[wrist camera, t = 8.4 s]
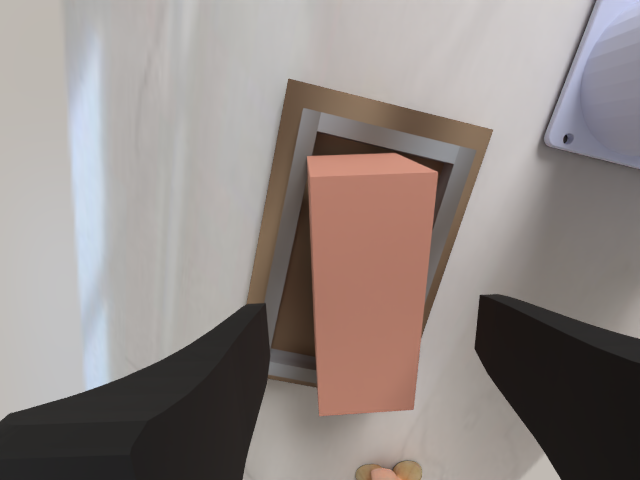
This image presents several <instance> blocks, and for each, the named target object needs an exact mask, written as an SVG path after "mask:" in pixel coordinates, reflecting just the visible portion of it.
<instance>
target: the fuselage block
mask: <svg viewBox="0 0 640 480" xmlns="http://www.w3.org/2000/svg"><path fill="white" fill-rule="evenodd" d="M307 171H308V195H309V219H310V244H311V268H312V292H313V316H314V340H315V356H316V372H317V389H318V405H319V416H327V415H342V414H357V413H371V412H386V411H401V410H413V409H414V400H415V390H416V381H417V371H418V361H419V352H420V342H421V333H422V323H423V314H424V304H425V294H426V285H427V275H428V266H429V256H430V246H431V237H432V227H433V218H434V208H435V198H436V189H437V179H438V172H437V171H434V170H432V169H430V168H428V167H426V166H423V165H421V164H419V163H417V162H414V161H412V160H410V159H408V158H405V157H403V156H401V155H399V154H396V153H380V154H352V155H324V156H307Z"/></svg>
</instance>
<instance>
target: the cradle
mask: <svg viewBox="0 0 640 480" xmlns="http://www.w3.org/2000/svg"><path fill="white" fill-rule="evenodd" d="M492 132H493V130H492V129H488V128H484V127H480V126H476V125H472V124H468V123H464V122H460V121H456V120H452V119H448V118H444V117H440V116H436V115H432V114H428V113H424V112H420V111H416V110H412V109H408V108H404V107H400V106H396V105H392V104H388V103H384V102H380V101H376V100H372V99H368V98H364V97H360V96H356V95H352V94H348V93H344V92H340V91H336V90H332V89H328V88H324V87H320V86H316V85H312V84H308V83H304V82H300V81H296V80H292V79H288V83H287V89H286V94H285V100H284V105H283V110H282V116H281V121H280V126H279V132H278V137H277V143H276V148H275V153H274V159H273V164H272V169H271V175H270V180H269V186H268V191H267V196H266V202H265V207H264V213H263V218H262V223H261V229H260V234H259V239H258V245H257V250H256V256H255V261H254V266H253V272H252V277H251V282H250V288H249V293H248V299H247V304H255V303H266V311H267V322H268V333H269V345H270V356H271V357H270V364H269V372H268V379H274V380H279V381H285V382H290V383H295V384H301V385H306V386H311V387H317V372H316V356H315V340H314V316H313V292H312V268H311V244H310V219H309V195H308V171H307V156H324V155H352V154H380V153H396V154H399V155H401V156H403V157H405V158H408V159H410V160H412V161H414V162H417V163H419V164H421V165H423V166H426V167H428V168H430V169H432V170H434V171H437V172H438V179H437V189H436V198H435V208H434V218H433V227H432V237H431V246H430V256H429V266H428V275H427V285H426V294H425V304H424V314H423V323H422V333H421V337H422V334H423V331H424V329H425V326H426V323H427V320H428V317H429V314H430V311H431V308H432V305H433V302H434V300H435V297H436V294H437V291H438V288H439V285H440V282H441V279H442V276H443V274H444V271H445V268H446V265H447V262H448V259H449V256H450V253H451V250H452V248H453V245H454V242H455V239H456V236H457V233H458V230H459V227H460V224H461V221H462V219H463V216H464V213H465V210H466V207H467V204H468V201H469V198H470V195H471V193H472V190H473V187H474V184H475V181H476V178H477V175H478V172H479V169H480V167H481V164H482V161H483V158H484V155H485V152H486V149H487V146H488V143H489V140H490V138H491V135H492ZM247 304H246V305H247Z"/></svg>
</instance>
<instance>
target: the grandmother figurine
mask: <svg viewBox="0 0 640 480" xmlns="http://www.w3.org/2000/svg"><path fill="white" fill-rule="evenodd" d="M421 477H422V469H421V466H420V465H419V464H418V463H416V462H413V461H403V462H400V463H398V464H397V465H396V466H395V467H394V469H393V471H392V470H390V469H385V468H382V467H380V466H379V465H376V464H369V465H364V466H361V467H360V468H359V469H358V470H357V472H356V480H421Z"/></svg>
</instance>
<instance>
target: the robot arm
mask: <svg viewBox="0 0 640 480" xmlns="http://www.w3.org/2000/svg"><path fill="white" fill-rule="evenodd" d="M565 135H567V137H568V140H567V142H566V143H564V142H563V137H564V136H565ZM544 141H545V143H546V145H547V146H549V147H552V148H556V149H560V150H564V151H568V152H572V153H577V154H581V155H585V156H589V157H593V158H597V159H601V160H605V161H609V162H613V163H617V164H621V165H625V166H629V167H633V168H637V169H640V0H597V1H596V3H595V6H594V9H593V11H592V14H591V16H590V19H589V22H588V24H587V27H586V29H585V32H584V35H583V37H582V40H581V42H580V45H579V47H578V50H577V53H576V55H575V58H574V60H573V63H572V66H571V68H570V71H569V73H568V76H567V79H566V81H565V84H564V86H563V89H562V92H561V94H560V97H559V99H558V102H557V105H556V107H555V110H554V112H553V115H552V117H551V120H550V123H549V125H548V128H547V130H546V133H545V137H544ZM475 350H476V352H477V354H478V356H479V358H480V360H481V362H482V364H483V366H484V368H485V369H486V371H487V373H488V375H489V376H490V378H491V379H492V380H493V382H494V383H495V385H496V386H497V387H498V389H499V390H500V391H501V393H502V394H503V396H504V397H505V398H506V400H507V401H508V402H509V404H510V405H511V406H512V408H513V409H514V410H515V412H516V413H517V414H518V416H519V417H520V419H521V420H522V421H523V423H524V424H525V425H526V427H527V428H528V429H529V431H530V432H531V433H532V435H533V436H534V437H535V439H536V440H537V442H538V443H539V445H540V446H541V448H542V449H543V451H544V452H545V454H546V455H547V457H548V459H549V460H550V462H551V464H552V465H553V467H554V469H555V470H556V472H557V473H558V475H559V477H560V478H561V480H640V339H638V338H634V337H630V336H626V335H623V334H619V333H616V332H612V331H609V330H606V329H603V328H599V327H596V326H593V325H590V324H587V323H584V322H581V321H578V320H575V319H572V318H569V317H566V316H563V315H560V314H558V313H555V312H552V311H549V310H546V309H544V308H541V307H538V306H535V305H532V304H530V303H527V302H524V301H521V300H518V299H515V298H511V297H508V296H504V295H499V294H494V295H480V299H479V309H478V319H477V330H476V340H475ZM270 357H271V356H270V345H269V333H268V322H267V311H266V303H255V304H247V305H245V306H243V307H242V308H240V309H239V310H238V311H236V312H235V313H234V314H232V315H231V316H230V317H228V318H227V319H226V320H224V321H223V322H222V323H220V324H219V325H218V326H216V327H215V328H214V329H212V330H211V331H209V332H208V333H206V334H205V335H203V336H202V337H200V338H199V339H197V340H196V341H194V342H193V343H191V344H190V345H188V346H186V347H185V348H183V349H181V350H179V351H178V352H176V353H174V354H172V355H170V356H168V357H167V358H165V359H163V360H161V361H159V362H157V363H155V364H152V365H150V366H148V367H146V368H144V369H141V370H139V371H137V372H135V373H132V374H130V375H128V376H126V377H123V378H121V379H118V380H116V381H113V382H110V383H108V384H105V385H102V386H100V387H97V388H94V389H91V390H88V391H85V392H82V393H79V394H77V395H73V396H70V397H67V398H64V399H60V400H57V401H53V402H50V403H46V404H43V405H39V406H36V407H32V408H29V409H25V410H21V411H18V412H14V413H10V414H9V415H7V416H6V417H5V418H4V419H2V420H1V421H0V480H242V479H243V474H244V468H245V462H246V458H247V454H248V450H249V446H250V442H251V438H252V435H253V431H254V428H255V424H256V421H257V417H258V413H259V410H260V406H261V403H262V399H263V395H264V392H265V388H266V384H267V378H268V372H269V364H270Z"/></svg>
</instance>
